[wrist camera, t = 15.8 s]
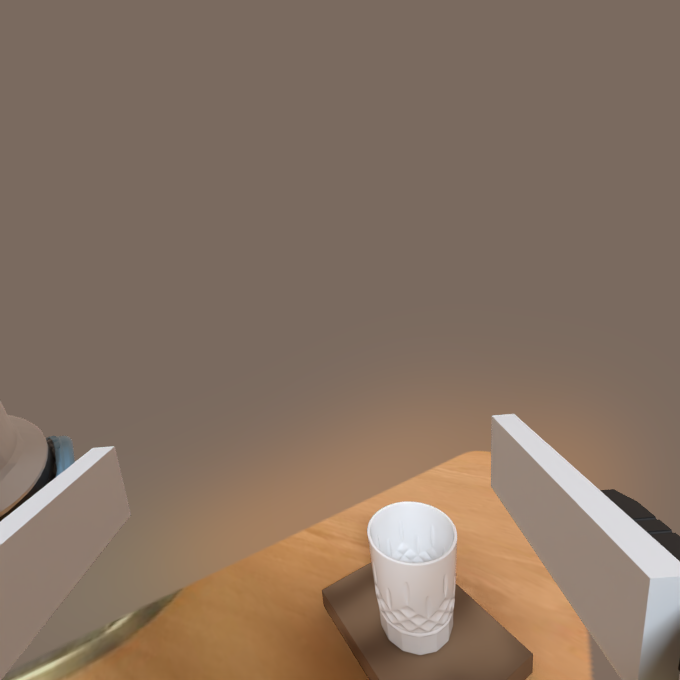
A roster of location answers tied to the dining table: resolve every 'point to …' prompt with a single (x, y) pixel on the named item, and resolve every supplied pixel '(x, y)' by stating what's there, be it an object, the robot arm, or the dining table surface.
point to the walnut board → (433, 668)
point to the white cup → (414, 574)
